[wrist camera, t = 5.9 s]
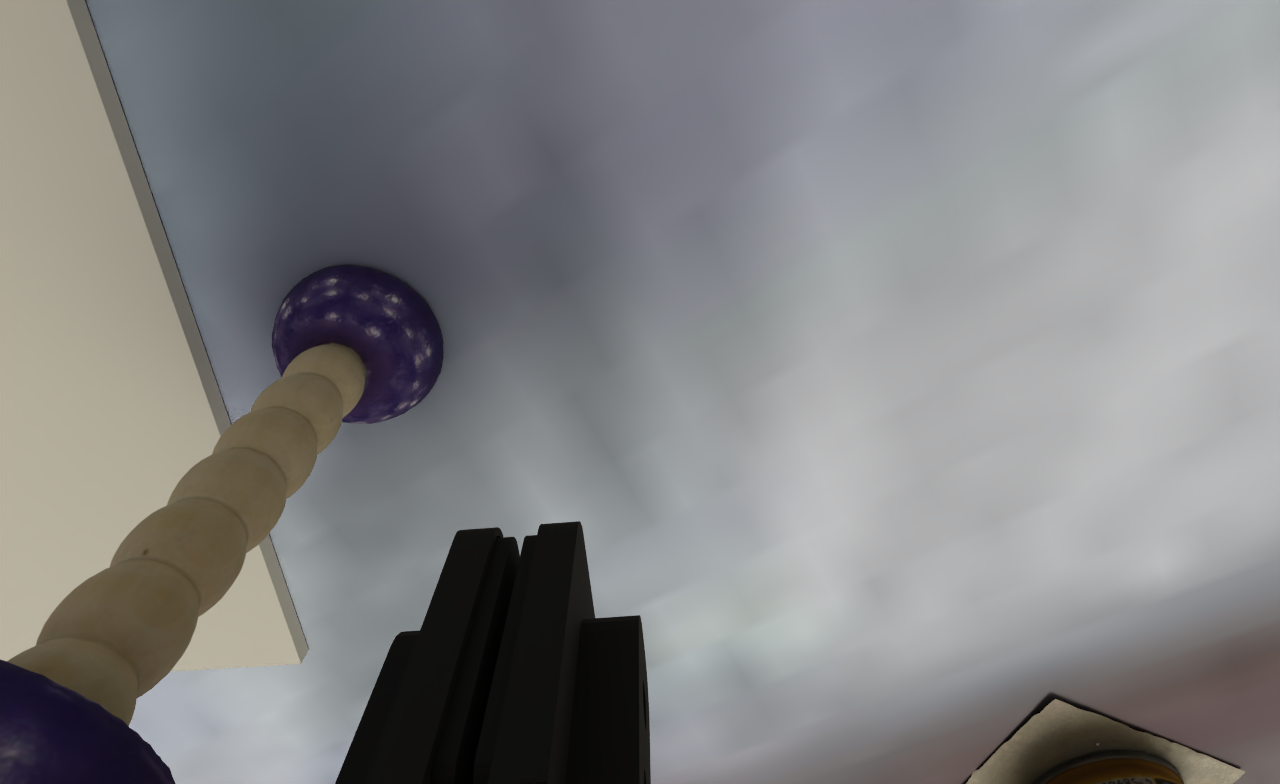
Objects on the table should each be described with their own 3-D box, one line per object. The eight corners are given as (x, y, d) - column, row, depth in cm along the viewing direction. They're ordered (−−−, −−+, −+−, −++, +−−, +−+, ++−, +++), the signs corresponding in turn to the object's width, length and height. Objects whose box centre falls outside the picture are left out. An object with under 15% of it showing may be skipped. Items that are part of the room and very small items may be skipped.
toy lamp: (471, 416, 21) (22, 1438, 6) (311, 447, 21) (-510, 1478, 6) (413, 247, 19) (-527, 1130, 4) (237, 284, 19) (-1274, 1222, 4)
